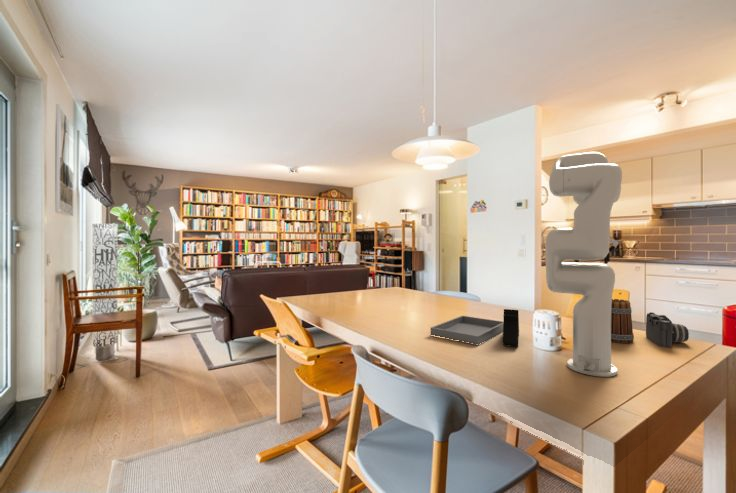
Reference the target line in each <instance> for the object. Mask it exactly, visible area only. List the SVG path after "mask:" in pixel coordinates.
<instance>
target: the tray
mask: <svg viewBox="0 0 736 493" xmlns="http://www.w3.org/2000/svg"><path fill="white" fill-rule="evenodd" d="M503 322H504V321H501V320H494V319H486V318H480V317H474V316H468V315H460V316H458V317H455V318H452V319H450V320H446V321H445V322H442V323H439V324H436V325H433V326H432V327H430V336H431V335H435V336H440V337H445V338H449V339H453V340H459V341H464V342H469V343H473V344H480V343H482V342H484V341H486V340H488V339H490V338H491V339H493V338H495V337H496V335H497V336H499V335H500V334H502V333H503ZM501 332H502V333H501ZM494 336H495V337H494ZM492 337H493V338H492ZM491 339H490V340H491ZM488 341H489V340H488ZM486 342H487V341H486ZM484 343H485V342H484Z"/></svg>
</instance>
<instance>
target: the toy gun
mask: <svg viewBox="0 0 736 493" xmlns="http://www.w3.org/2000/svg"><path fill="white" fill-rule="evenodd" d="M519 317H520V316H519V310H518V309H508V308H505V309H503V321H502V322H503V332H502V345H503V346H507V345H510V346H511V347H516V346H518V347H519V336H520V324H519V322H520V320H519ZM510 346H509V347H510Z"/></svg>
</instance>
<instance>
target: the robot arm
mask: <svg viewBox="0 0 736 493" xmlns="http://www.w3.org/2000/svg"><path fill="white" fill-rule="evenodd" d="M622 180H623V171H622V168H621V166H619V165H618V164H616V163H609V160H608V157H607V156H605V154H603V153H601V152H599V151H588V152H580V153H572V154H566V155H561V156H560V157H558V158H557V159H556V160H555V161H554V163H553V165H552V168H551V171H550V175H549V180H548V186H549V191H550V193H551V194H552V195H553V196H555V197H572V199H573V201H574V202H575V203H576V204H577V206H576V207H575V209H574V212H573V227H558V228H553V229H551V230H550V231H548V233H547V235H546V238H545V247H544V248H545V251H544V252H545V253H544V254H545V280H546V282H545V283H546V285H547V288H548V290H549V291H551V292H553V293H558V294H573V295H582V297H581V298H580V299H579V300H578V301H577V302H576V303H575V304H574V305H573V309H572V358H569V359H567V361H566V365H567V367H568V368H569V369H570V370H572V371H574V372H577V373H580V374H584V375H588V376H593V377H600V378H601V377H603V378H605V377H606V378H607V377H608V378H609V377H610V378H611V377H614V376H616V375H618V374H619V370H618V368H617V367H616V366H615V365H614V364H612V342H611V304H612V299H613V293H614V288H615V282H616V273H615V270H614V269H613V268H612V267H611V266H610V265H608V263H609V262H610V261H611V258H610V255H611V253H612V252H613V251H614V250H615V249H616V248H617V246H618V244H619V242H620V241H618V240H616V239H614V238H611V237H610V234H611V233H610V232H611V231H610V230H611V229H610V228H611V225H610V224H611V211H612V208H613V205H614V204H615V203H616V202H618V200H619V199H620V197H621V192H622ZM610 243H612V245H611V246H610ZM599 260H603V263H601V262H588V261H599ZM571 261H572V262H571ZM573 261H574V262H573ZM583 261H585V262H583ZM586 261H587V262H586Z"/></svg>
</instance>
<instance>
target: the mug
mask: <svg viewBox="0 0 736 493" xmlns="http://www.w3.org/2000/svg"><path fill="white" fill-rule="evenodd" d="M632 312H633V311H632V307H631V302H630V301H629V300H625V299H618V298H612V304H611V343H616V344H632V343H633V342H634V339H635V336H634V331H633V321H632Z"/></svg>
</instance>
